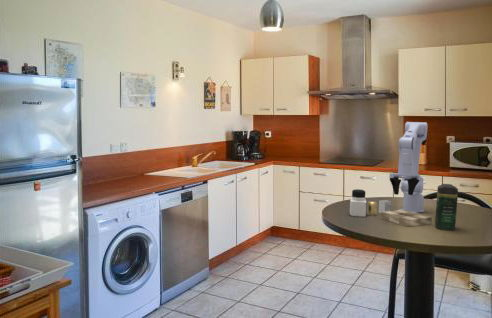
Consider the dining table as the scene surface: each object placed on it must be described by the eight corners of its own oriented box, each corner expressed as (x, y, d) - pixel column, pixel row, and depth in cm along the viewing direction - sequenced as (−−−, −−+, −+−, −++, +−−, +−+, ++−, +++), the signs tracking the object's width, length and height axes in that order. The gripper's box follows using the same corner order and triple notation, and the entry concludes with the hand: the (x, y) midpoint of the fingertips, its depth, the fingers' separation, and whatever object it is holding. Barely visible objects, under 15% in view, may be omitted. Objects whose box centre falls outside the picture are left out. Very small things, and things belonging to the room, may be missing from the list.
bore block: (403, 215, 208) (403, 209, 207) (431, 223, 193) (431, 217, 193) (381, 218, 201) (381, 212, 201) (408, 226, 187) (408, 219, 187)
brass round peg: (372, 213, 212) (372, 201, 211) (378, 215, 208) (378, 202, 208) (365, 214, 210) (366, 201, 210) (371, 215, 207) (372, 203, 206)
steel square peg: (384, 212, 216) (385, 199, 215) (390, 213, 212) (391, 201, 211) (378, 212, 214) (379, 200, 213) (384, 214, 210) (385, 202, 210)
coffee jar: (456, 231, 181) (459, 186, 179) (435, 229, 184) (438, 185, 182) (453, 225, 190) (456, 183, 188) (434, 224, 193) (436, 182, 191)
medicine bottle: (366, 217, 204) (367, 191, 202) (350, 216, 205) (351, 190, 204) (365, 213, 211) (366, 188, 209) (349, 212, 212) (350, 188, 211)
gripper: (397, 163, 189) (395, 195, 190) (425, 165, 194) (422, 196, 194) (387, 163, 196) (385, 193, 196) (414, 164, 201) (412, 194, 201)
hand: (403, 194), depth 196 cm, fingers open, 7 cm apart
